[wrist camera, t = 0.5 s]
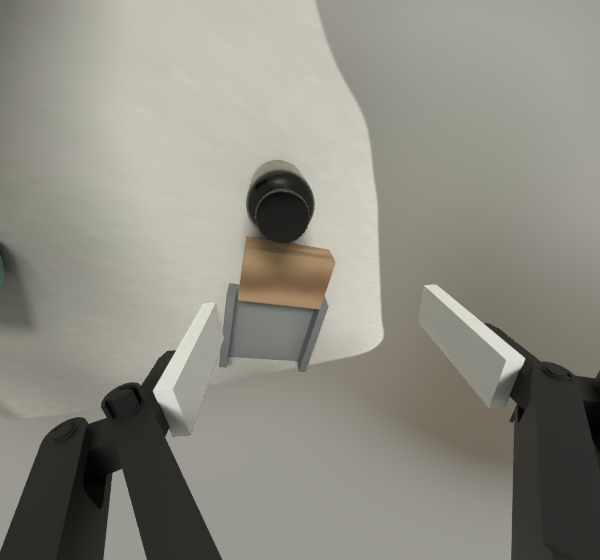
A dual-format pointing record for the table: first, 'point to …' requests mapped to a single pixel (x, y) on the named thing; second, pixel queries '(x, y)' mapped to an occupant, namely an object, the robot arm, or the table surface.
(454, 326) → the robot arm
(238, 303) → the grey tray
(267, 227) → the supplement bottle
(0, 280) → the flower pot
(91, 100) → the table surface
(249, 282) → the walnut ledge
